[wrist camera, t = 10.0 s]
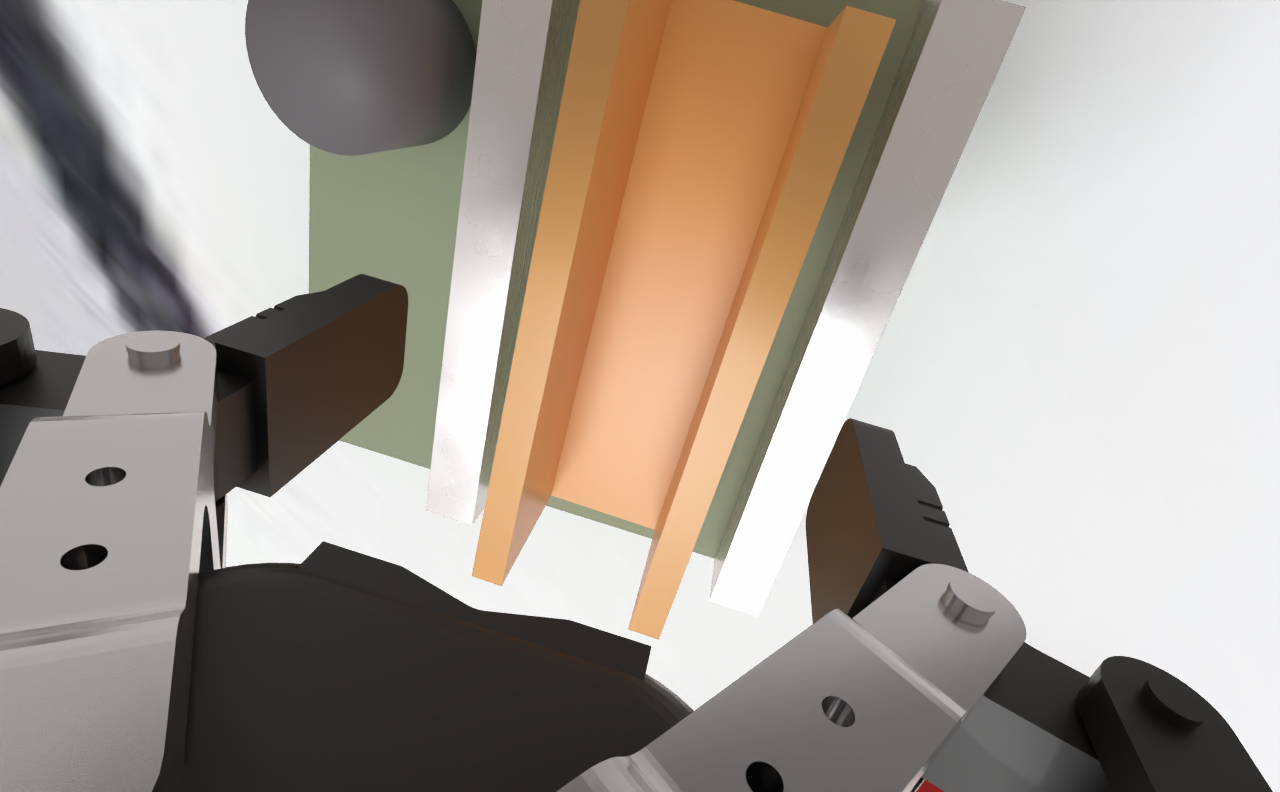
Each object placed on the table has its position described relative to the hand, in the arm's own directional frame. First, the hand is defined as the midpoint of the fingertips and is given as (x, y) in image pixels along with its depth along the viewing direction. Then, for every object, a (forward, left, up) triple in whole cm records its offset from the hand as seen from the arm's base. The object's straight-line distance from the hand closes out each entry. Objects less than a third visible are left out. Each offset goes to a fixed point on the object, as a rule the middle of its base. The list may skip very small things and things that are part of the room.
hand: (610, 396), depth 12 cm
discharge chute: (0, 0, -7) cm, 7 cm away
